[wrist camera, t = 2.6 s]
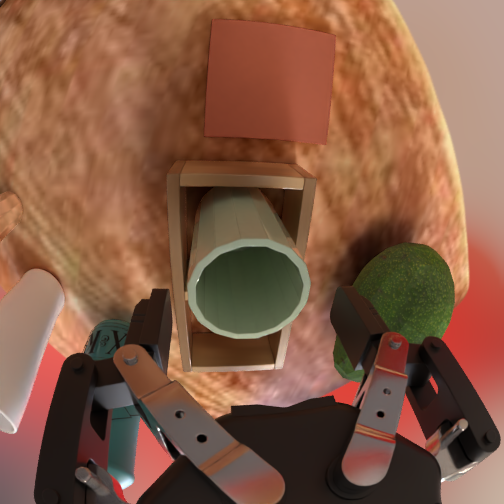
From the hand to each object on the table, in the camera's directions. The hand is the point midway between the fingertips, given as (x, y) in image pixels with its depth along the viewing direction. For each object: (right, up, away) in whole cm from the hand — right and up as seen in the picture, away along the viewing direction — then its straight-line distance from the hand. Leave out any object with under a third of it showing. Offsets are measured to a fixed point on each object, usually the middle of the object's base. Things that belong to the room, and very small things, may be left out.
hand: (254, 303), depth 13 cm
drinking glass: (-21, -1, +10) cm, 23 cm away
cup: (-1, +5, +9) cm, 11 cm away
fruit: (+12, -1, +15) cm, 19 cm away
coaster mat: (+1, +15, +5) cm, 15 cm away
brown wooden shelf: (-2, +1, +11) cm, 11 cm away
